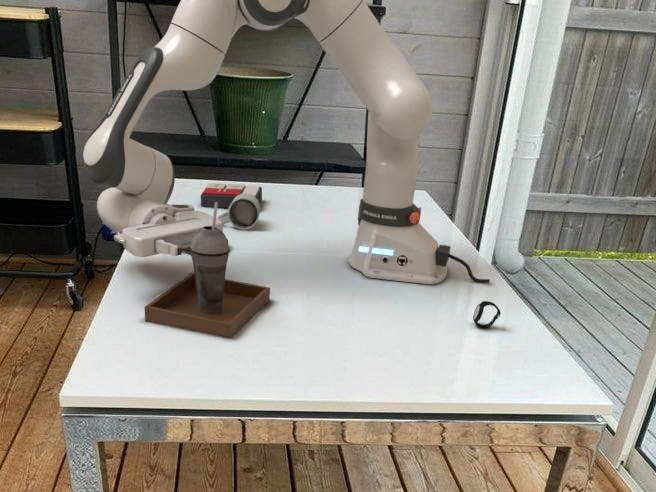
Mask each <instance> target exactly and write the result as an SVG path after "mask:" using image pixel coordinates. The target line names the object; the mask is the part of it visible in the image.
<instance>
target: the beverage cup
mask: <svg viewBox="0 0 656 492" xmlns="http://www.w3.org/2000/svg"><path fill="white" fill-rule="evenodd" d="M218 208H219V207H218V202H215V207H213V215H212V216H213V224H212V226H205V227H202V228H200V229H199V230H198V231H197V232H196V233H195V234H194V236H193V238H192V240H191V246H190V251H191V253H190V257H191V261H192V265H193V273H194V277H195V287H196V297H197V303H198V310H199V311H200V312H202V313H207V314H215V313H219V312H221V310H222V303H223V296H224V286H225V279H226V276H227V264H228V260H229V255H230V245H229V240H228V241H227V239H228V238H227V236H226V234H225V233H224V231H223V232H222V231H221V230H219V229H218V228H216V227H215V223H216V218H217V215H218Z"/></svg>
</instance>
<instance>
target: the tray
mask: <svg viewBox="0 0 656 492" xmlns="http://www.w3.org/2000/svg"><path fill="white" fill-rule="evenodd" d="M270 298H271V287H268V286H265V285H264V286H263V285H259V284H254V283H248V282H242V281H238V280H232V279H231V280H230V279H228V278H225V286H224V296H223V303H222V310H221V312H219V313H215V314H207V313H202V312H200V311H199V310H198V303H197V297H196V287H195V277H194V272H190V273H189V274H187V275H186V276H184V278H182V279H181V280H179V281H177V282H176V283H175V284H174V285H172V286H171V287H169V288H168V289H167V290H166V291H164V292H163V293H161V294H160V295H159V296H157V297H156V298H154V299H153V300H152V301H150V302H148V304H146V305H145V306H144V321H145V322H146V323H147V322H148V323H152V324H157V325H161V326H165V327H171V328H176V329H180V330H181V329H182V330H187V331H190V332H196V333H199V334H205V335H210V336H214V337H220V338H225V339H229V340H231V339H233V338H234V337H235V336H236V335H237V334H238V333H239V332H240V331H241V330H242V329H243V328H245V326H246V325H247V324H248V323H249V322H250V321H251V320H252V319H253V318H254V317H255V316H256V315H257V314H258V313H259V312H261V310H262V309H263V308H264V307H266V305H267V304H269V302H270V300H271V299H270Z"/></svg>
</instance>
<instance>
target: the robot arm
mask: <svg viewBox="0 0 656 492" xmlns="http://www.w3.org/2000/svg"><path fill="white" fill-rule="evenodd" d="M293 19H296V20H299V21H300V22H301V23H302V24H303V25H304V26H305V27H307V28H308V29H309V31H310V32H311V34H312V35H313V37H314V39H315V40H316V41H317V42H318V44H319V45H320V47H321V48H322V49H323V51H324V52H325V53H326V55H327V56H328V57H329V59H330V60H331V62H332V63H333V64H334V66H335V68H337V70H338V71H339V72H340V74H341V75H342V77H343V78H344V79H345V81H346V82H347V83H348V85H349V86H350V88H351V89H352V91H354V93H355V95H356V96H357V97H358V98H359V100H360V101H361V103H362V104H363V105H364V107H365V108H366V109H367V111H368V112H367V114H368V115H367V130H366V132H367V133H366V160H365V161H366V162H365V170H364V180H363V181H364V182H363V188H362V189H363V191H362V198H360V200H359V205H358V213H357V226H358V227H357V232H356V237H355V241H354V245H353V247H352V251H351V254H350V256H349V258H348V264H349V266H351V267H352V268H353V269H355V270H357V271H359V272H360V273H362V274H363V275H364V276H365V277H367V278H370V279H379V280H388V281H398V282H406V283H415V284H423V285H437V284H439V283H441V282H443V281H444V280H445V279H446V277H447V275H448V266H447V264H448V262H449V259H450V260H453V261H455V262H457V263H459V264H461V265H462V266H463V267H464V268H465V269H466V271H467V274H468V277H469V278H470V279H471V280H472V281H473V282H476V283H478V284H479V283H481V284H490V280H491V279H488V278H477V277H476V276H474V275H473V272H472V269H471V267H470V265H469V264H468V263H467V262H466V261H464V260H463V259H461V258H460V257H457V256H456V255H454V254H451V253H450V252H451V249H452V248H451V247H452V246H451V245H444V244H439V243H438V241H437V240H436V239H435V238H434V237H433V235H431V233H429V232H428V230H426V229H425V227H424V226H423V225H422V224H421V223H420V221H421V213H422V207H421V206H419V207H418V206H417V205H416V204H415V203H414V197H415V191H416V185H417V176H418V170H419V136H421V135H422V134H423V133H424V132H425V131H426V130H427V128H428V127H429V126H430V124H431V120H432V117H433V101H432V97H431V94H430V92H429V91H428V89H427V87H426V86H425V84H424V83H423V82H422V81H421V79H420V78H419V76H418V75H417V73H416V72H415V70H414V69H413V68H412V66H411V65H410V64H409V62H408V61H407V60H406V58H405V57H404V56H403V54H402V53H401V52H400V50H399V49H398V47H397V46H396V44H395V43H394V42H393V41H392V38H390V37H389V35H388V34H387V33H386V31H385V29H384V28H383V26H382V25H381V23H380V22H379V20H378V19H377V18H376V16H375V15H374V13H373V12H372V10H371V8H370V7H369V6H368V4H367V3H366V1H365V0H180V2H179V4H178V5H177V7H176V10H175V12H174V14H173V17H172V19H171V21H170V24H169V26H168V29H167V30H166V32H165V34H164V36H163V37H162V38H161V39H160V41H159V42H158V43H157V44H155V46H153V47H148V48H145V49H144V50H143V51H142V52H141V53H140V54H139V56H138V57H137V58H136V60H135V61H134V63H133V65H132V66H131V68H130V69H129V71H128V73H127V74H126V76H125V78H124V80H123V81H122V84H121V85H120V87H119V89H118V91H117V92H116V94H115V96H114V98H113V99H112V102H111V103H110V105H109V106H108V108H107V110H106V112H105V114H104V116H103V117H102V119H101V121H99V123H98V125H97V126H96V127H95V128H94V130H93V131H92V132H91V133H90V135H89V136H88V138H87V139H86V141H85V143H84V144H83V147H82V155H81V159H82V163H83V167H84V168H85V171H86V173H87V174H88V176H89V178H90V180H91V181H92V182H93V183H95V184H96V185H101V186H104V187H108V188H106V189H105V190H103V191H102V192H101V193H100V195H99V196H98V198H97V202H96V210H97V214H98V217H99V219H100V220H101V222H102V223H103V224H104V225H105V226H106V227H107V228H108V229H109V230H110V231H111V232H113V233H114V234H115V235H113V239H114V241H115V242H117V243H119V244H122V246H123V248H124V249H125V250H126V251H127V252H128V253H130V254H131V255H132V256H135V257H137V258H147V257H152V256H157V255H161V254H162V255H170V256H173V257H178V256H181V255H182V254H183V251H181V250H182V249H184V248H188V247H190V246H191V240H192V238H193V236H194V234H195V233H196V232H197V231H198V230H199V229H200V228H202V227H205V226H212V224H213V215H211V214H208V213H206V212H204V211H201V210H200V211H199V210H195V206H193V205H192V204H169V203H168V202H169V201H170V198H171V196H172V194H173V191H174V187H175V180H176V178H175V177H176V176H175V174H176V173H175V169H174V165H173V162H172V160H171V159H170V157H169V156H168V155H167V154H165V153H163V152H160V151H159V150H156V149H154V148H153V147H150V146H147V145H145V144H142V143H140V142H139V141H136V140H134V139H132V138H130V137H131V134H132V131H133V130H134V128H135V126H136V124H137V123H138V121H139V119H140V118H141V116H142V114H143V112H144V110H145V108H146V107H147V105H148V103H149V102H150V100H151V99H152V98H153V97H154V96H155V95H157V94H159V93H161V92H165V91H172V90H173V91H195V90H199V89H203V88H205V87H207V86H208V85H210V84H211V83H212V82H213V80H214V79H215V78H216V76H217V75H218V73H219V71H220V70H221V66H222V65H223V61H224V59H225V57H226V54H227V51H228V49H229V46H230V44H231V41H232V39H233V37H234V36H235V34H236V33H237V31H238V30H239V29H240V28H243V29H244V28H245V29H248V30H250V31H251V30H252V31H256V32H266V31H273V30H276V29H279V28H280V27H283V25H285V24H286V23H288V22H290V21H291V20H293ZM217 218H218V217H216V223H215V227H216V228H218V229H219V230H221V231H222V232H223V233H224V224H222V222H221V221H220V220H219V219H217Z"/></svg>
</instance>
